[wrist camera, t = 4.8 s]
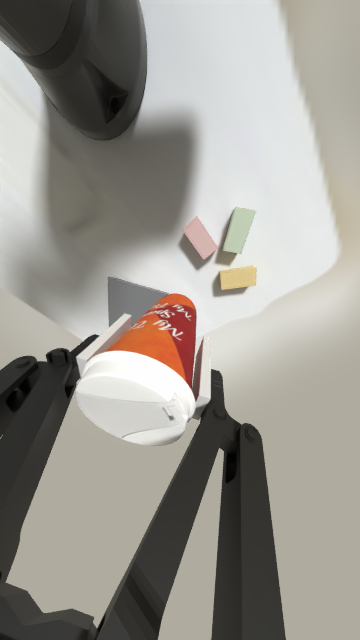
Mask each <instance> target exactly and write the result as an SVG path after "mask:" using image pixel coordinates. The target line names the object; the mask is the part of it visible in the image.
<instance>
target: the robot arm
mask: <svg viewBox="0 0 360 640" xmlns="http://www.w3.org/2000/svg"><path fill="white" fill-rule="evenodd" d="M0 40H1V41H2V42H3V43H4V44H5V45H7V46H8V47H9V48H10V49H11V50H12V51H13V52H14V53H15V54H16V55H17V56H18V57H19V58H20V59H21V61H22V62H23V63H24V65H25V66H26V67H27V69H28V70H29V72H30V73H31V74H32V76H33V77H34V79H35V80H36V81H37V83H38V84H39V86H40V87H41V88H42V90H43V91H44V92H45V94H46V95H47V97H48V98H49V100H50V101H51V103H52V104H53V106H54V107H55V108H56V109H57V111H58V112H59V113H60V114H61V115H62V116H63V117H64V118H65V119H66V120H67V121H68V122H69V123H70V124H72V125H73V126H74V127H75V128H77V129H78V130H79V131H80V132H82V133H83V134H85V135H86V136H88V137H91V138H93V139H97V140H108V139H112V138H114V137H116V136H118V135H120V134H121V133H122V132H123V131H124V130H125V129H126V128H127V127H128V126H129V125H130V123H131V122H132V120H133V119H134V117H135V115H136V113H137V110H138V108H139V105H140V103H141V99H142V96H143V92H144V87H145V81H146V72H147V41H146V32H145V25H144V19H143V14H142V10H141V6H140V2H139V0H0ZM131 318H132V315H129V314H124V315H122V316H121V317H120V318H119V319H118V320H117V321H116V322H115V323H114V324H112V325H111V326H110V327H109V328H108V329H107V330H106V331H105V332H104V333H102V334H101V335H100V336H99V335H95V334H94V335H92V336H90V337H88V338H87V339H86V340H84V342H82V343H81V344H80V345H78V346H77V347H76V348H75V349H74V350H72V351H71V352H69V350H67V349H64V348H58V349H55V350H52V351H50V352H48V353H47V354H46V358H47V361H48V362H43V361H42V362H41V361H37V360H36V358H35V357H33V356H23V357H20V358H17V359H15V360H13V361H12V362H10V363H9V364H8V365H7V366H5V367H4V368H3V369H1V370H0V437H1V436H2V435H3V436H2V437H1V439H0V640H158V636H159V630H160V625H161V620H162V616H163V613H164V610H165V606H166V603H167V601H168V597H169V594H170V591H171V588H172V586H173V583H174V579H175V576H176V574H177V570H178V568H179V565H180V562H181V559H182V556H183V553H184V550H185V547H186V544H187V541H188V538H189V535H190V532H191V529H192V526H193V523H194V520H195V517H196V514H197V511H198V509H199V506H200V503H201V500H202V497H203V493H204V490H205V487H206V485H207V482H208V479H209V476H210V473H211V470H212V467H213V464H214V461H215V458H216V455H217V452H218V449H219V448H221V449H222V450H223V451H224V462H223V477H222V492H221V506H220V521H219V536H218V551H217V565H216V566H217V567H216V581H215V596H214V610H213V624H212V639H211V640H286V637H285V629H284V620H283V612H282V603H281V595H280V587H279V578H278V571H277V562H276V553H275V545H274V537H273V529H272V520H271V511H270V504H269V495H268V486H267V479H266V470H265V462H264V453H263V445H262V439H261V435H260V434H259V432H258V430H257V429H256V428H255V427H254V426H252V425H251V424H248V423H245V424H243V425H241V424H240V423H238V422H237V421H235V420H234V419H233V418H231V417H230V416H229V415H228V413H227V411H226V409H225V405H224V392H223V379H222V375H221V373H220V372H219V371H216V370H213V369H211V338H208V337H203V340H202V342H201V345H200V348H199V350H198V353H197V356H196V363H195V371H194V379H193V387H192V392H193V395H194V398H195V404H196V405H195V412H194V414H193V416H192V418H194V419H197V420H199V419H200V417H201V421H200V424H199V426H198V428H197V430H196V432H195V434H194V437H193V438H192V440H191V442H190V445H189V446H188V448H187V451H186V453H185V454H184V456H183V458H182V460H181V463H180V464H179V466H178V468H177V470H176V473H175V474H174V476H173V478H172V480H171V482H170V485H169V487H168V489H167V490H166V492H165V494H164V496H163V499H162V501H161V503H160V505H159V507H158V509H157V511H156V513H155V515H154V517H153V519H152V521H151V523H150V525H149V527H148V529H147V531H146V533H145V535H144V537H143V539H142V541H141V543H140V545H139V547H138V549H137V551H136V553H135V555H134V557H133V559H132V561H131V563H130V565H129V567H128V569H127V571H126V572H125V575H124V576H123V578H122V580H121V582H120V584H119V586H118V588H117V590H116V592H115V594H114V596H113V598H112V600H111V602H110V604H109V606H108V608H107V610H106V612H105V614H104V616H103V618H102V620H101V622H100V624H99V626H98V628H96V627H95V625H94V624H93V620H94V617H92V616H90V615H87V614H84V613H82V612H80V611H77V610H74V609H68V610H62V611H56V612H51V613H43V612H42V611H41V610H40V608H39V607H38V606H37V604H36V603H35V601H34V600H33V599H32V597H31V596H30V594H29V593H28V592H27V591H26V590H23V589H20V588H18V587H15V586H12V585H10V584H8V583H5V582H6V580H7V577H8V574H9V571H10V569H11V566H12V563H13V561H14V558H15V555H16V552H17V549H18V545H19V541H20V532H21V528H22V525H23V522H24V519H25V517H26V514H27V512H28V509H29V507H30V504H31V501H32V499H33V496H34V494H35V491H36V489H37V486H38V483H39V481H40V478H41V476H42V473H43V471H44V468H45V465H46V463H47V460H48V458H49V455H50V453H51V450H52V447H53V445H54V442H55V440H56V437H57V435H58V432H59V429H60V427H61V424H62V422H63V419H64V416H65V414H66V411H67V408H68V406H69V403H70V401H71V398H72V396H73V393H74V391H75V388H76V382H77V381H78V380H79V379H80V380H81V378H82V373H83V369H84V367H85V365H86V363H87V362H88V361H89V360H90V359H91V358H92V357H94V356H96V355H98V354H100V353H104V352H106V351H107V350H108V349H109V348H110V347H111V346H112V345H113V344H114V343H115V342H116V341H117V340H118V339H119V338H120V337H121V336H122V335H123V334H124V333H125V332H126V331H127V330H129V329H130V328H131Z"/></svg>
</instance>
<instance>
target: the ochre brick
mask: <svg viewBox="0 0 360 640" xmlns="http://www.w3.org/2000/svg"><path fill="white" fill-rule="evenodd" d="M220 282H221V289H222V290H225V289H233V288H240V287H248V286H255V285H256V268H255V267H254V266H247V267H241V268H235V269H229V270H223V271H220Z"/></svg>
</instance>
